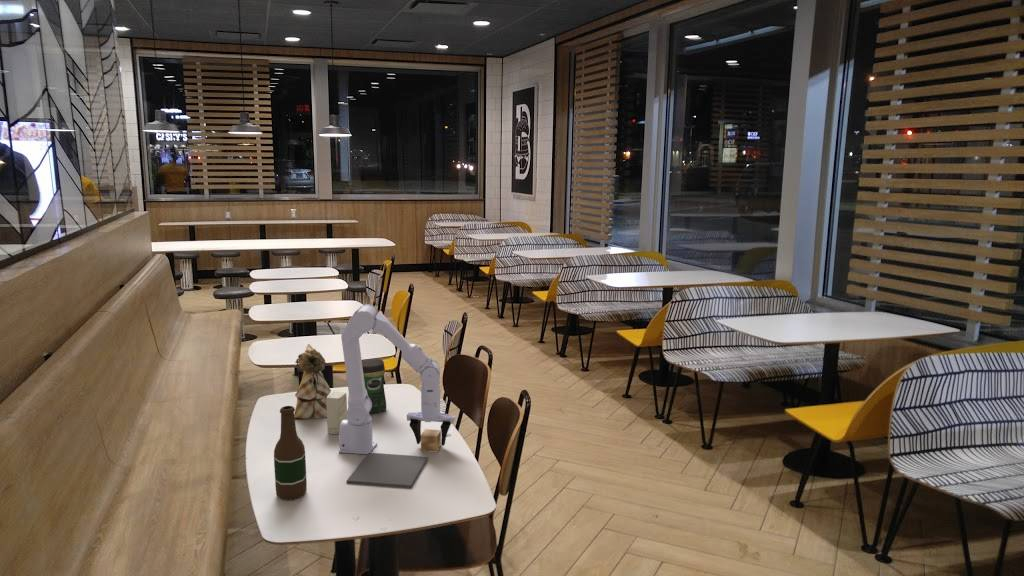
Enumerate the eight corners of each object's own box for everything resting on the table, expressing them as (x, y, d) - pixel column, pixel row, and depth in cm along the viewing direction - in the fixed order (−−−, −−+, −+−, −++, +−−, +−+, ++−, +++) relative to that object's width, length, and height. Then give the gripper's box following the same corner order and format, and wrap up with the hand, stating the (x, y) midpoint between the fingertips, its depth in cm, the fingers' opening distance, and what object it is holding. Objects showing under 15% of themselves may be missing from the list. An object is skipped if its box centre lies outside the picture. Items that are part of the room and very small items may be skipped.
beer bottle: (274, 489, 181) (270, 404, 176) (305, 484, 184) (301, 400, 180) (277, 503, 174) (272, 414, 169) (308, 498, 177) (304, 410, 173)
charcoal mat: (346, 483, 185) (346, 480, 185) (368, 455, 203) (368, 452, 203) (410, 488, 183) (410, 485, 183) (427, 459, 201) (427, 456, 200)
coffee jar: (382, 404, 244) (380, 354, 240) (388, 412, 237) (387, 360, 234) (355, 408, 240) (353, 358, 236) (361, 416, 233) (359, 364, 229)
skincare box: (339, 435, 217) (338, 398, 215) (326, 433, 218) (325, 397, 216) (348, 427, 223) (347, 392, 221) (335, 426, 224) (334, 391, 222)
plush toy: (348, 406, 239) (330, 338, 235) (328, 421, 226) (309, 350, 222) (313, 410, 243) (295, 344, 239) (292, 426, 230) (272, 356, 226)
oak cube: (421, 451, 206) (420, 435, 205) (425, 444, 211) (425, 429, 210) (437, 452, 206) (437, 436, 205) (440, 445, 211) (440, 430, 210)
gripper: (403, 404, 203) (404, 447, 205) (451, 407, 201) (451, 450, 203) (410, 396, 210) (410, 437, 212) (456, 399, 208) (456, 441, 210)
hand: (431, 443), depth 208 cm, fingers open, 7 cm apart
